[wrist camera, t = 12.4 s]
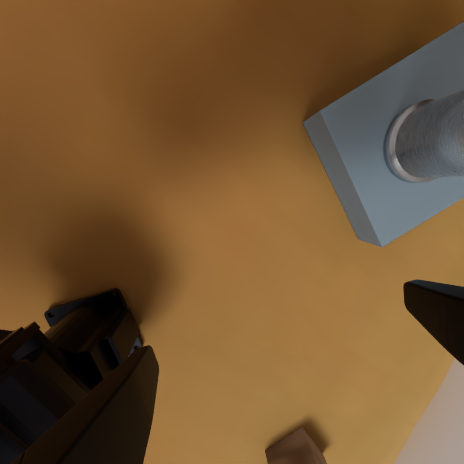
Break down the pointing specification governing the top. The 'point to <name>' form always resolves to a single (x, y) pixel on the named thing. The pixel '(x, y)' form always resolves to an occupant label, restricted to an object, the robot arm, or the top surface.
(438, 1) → the top surface
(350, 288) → the top surface
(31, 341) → the robot arm
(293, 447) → the offcut block
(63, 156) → the top surface
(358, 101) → the stand
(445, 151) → the glass shaker
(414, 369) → the top surface
